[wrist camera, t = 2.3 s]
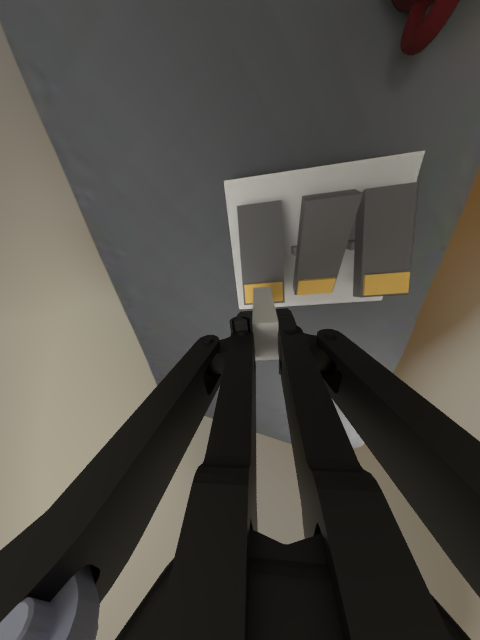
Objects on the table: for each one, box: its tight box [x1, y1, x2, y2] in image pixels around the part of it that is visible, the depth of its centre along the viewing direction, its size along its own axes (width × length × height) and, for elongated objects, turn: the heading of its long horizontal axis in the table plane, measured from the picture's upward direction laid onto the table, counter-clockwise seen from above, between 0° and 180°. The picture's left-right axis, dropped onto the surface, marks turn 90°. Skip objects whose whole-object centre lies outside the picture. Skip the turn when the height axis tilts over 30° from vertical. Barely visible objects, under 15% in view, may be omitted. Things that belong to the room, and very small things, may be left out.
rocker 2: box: [293, 189, 363, 295], centre depth 19 cm, size 10×4×2 cm, turn 6°
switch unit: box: [224, 151, 425, 309], centre depth 23 cm, size 15×19×7 cm
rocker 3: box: [353, 182, 418, 298], centre depth 18 cm, size 10×4×2 cm, turn 6°
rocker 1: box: [237, 200, 285, 305], centre depth 19 cm, size 10×4×2 cm, turn 6°
